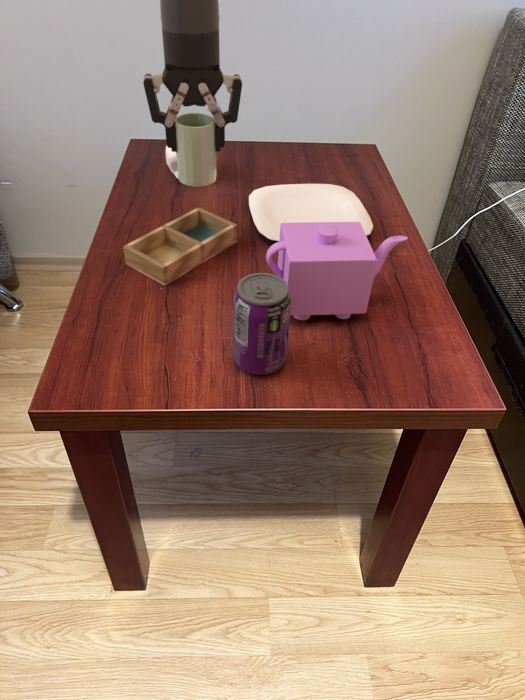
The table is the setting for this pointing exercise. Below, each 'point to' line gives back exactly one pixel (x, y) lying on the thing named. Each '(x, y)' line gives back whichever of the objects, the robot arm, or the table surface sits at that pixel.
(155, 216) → the table surface
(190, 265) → the holder
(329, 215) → the plate
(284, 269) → the teapot
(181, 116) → the cup
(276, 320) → the beverage can
